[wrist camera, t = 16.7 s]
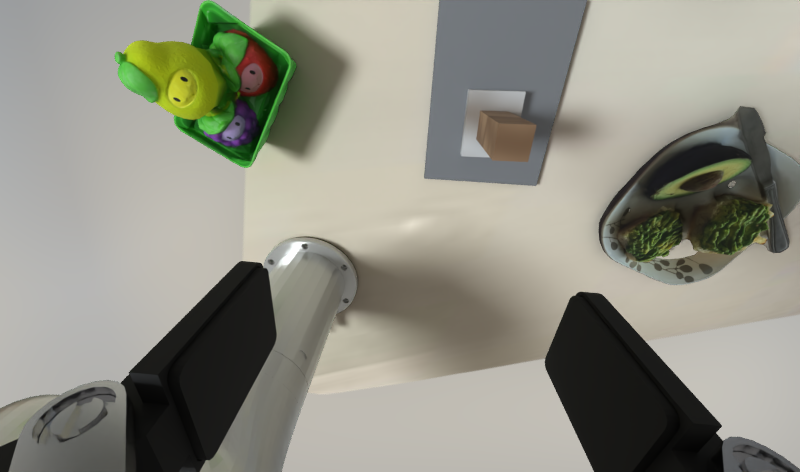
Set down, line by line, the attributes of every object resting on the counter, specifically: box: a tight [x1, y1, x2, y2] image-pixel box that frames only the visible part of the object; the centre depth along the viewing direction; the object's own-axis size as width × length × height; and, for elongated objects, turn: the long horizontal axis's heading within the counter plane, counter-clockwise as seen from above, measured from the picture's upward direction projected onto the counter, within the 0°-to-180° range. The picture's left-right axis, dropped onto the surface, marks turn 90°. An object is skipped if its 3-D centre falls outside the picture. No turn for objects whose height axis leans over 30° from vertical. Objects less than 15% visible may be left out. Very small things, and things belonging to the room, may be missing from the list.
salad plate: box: [599, 106, 800, 285], centre depth 31 cm, size 19×18×5 cm
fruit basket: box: [115, 0, 296, 168], centre depth 25 cm, size 11×9×11 cm
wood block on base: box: [460, 89, 537, 162], centre depth 26 cm, size 6×5×9 cm
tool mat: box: [424, 0, 587, 186], centre depth 29 cm, size 16×12×1 cm
